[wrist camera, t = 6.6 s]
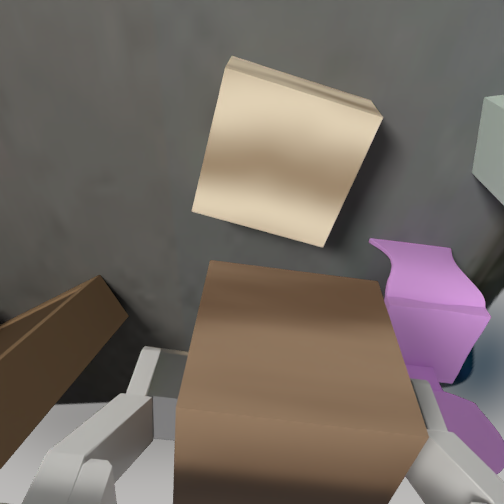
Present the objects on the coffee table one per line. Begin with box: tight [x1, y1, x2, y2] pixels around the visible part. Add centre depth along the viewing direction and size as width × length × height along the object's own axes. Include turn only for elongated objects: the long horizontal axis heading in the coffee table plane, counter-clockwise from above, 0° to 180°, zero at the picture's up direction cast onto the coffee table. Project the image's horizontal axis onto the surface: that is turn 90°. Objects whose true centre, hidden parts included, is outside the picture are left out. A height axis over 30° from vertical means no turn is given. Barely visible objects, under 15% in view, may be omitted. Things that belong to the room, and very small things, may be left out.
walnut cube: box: [173, 260, 429, 504], centre depth 12 cm, size 5×5×5 cm
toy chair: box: [369, 238, 504, 477], centre depth 28 cm, size 8×9×15 cm
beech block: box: [192, 56, 383, 247], centre depth 27 cm, size 9×9×4 cm
